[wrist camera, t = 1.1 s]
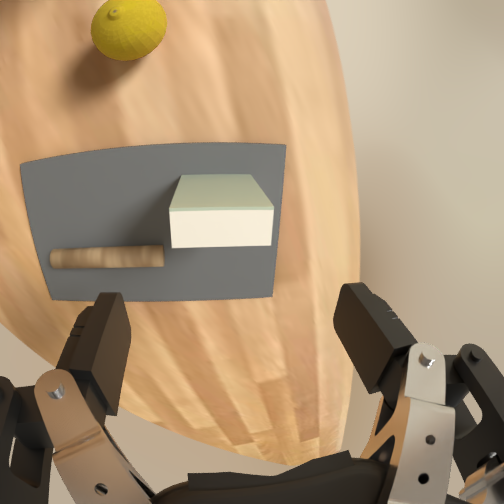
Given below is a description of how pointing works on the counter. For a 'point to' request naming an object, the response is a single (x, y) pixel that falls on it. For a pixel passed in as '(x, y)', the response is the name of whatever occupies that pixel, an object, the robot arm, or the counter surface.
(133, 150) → the mat
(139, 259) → the dowel
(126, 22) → the lemon
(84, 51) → the counter surface
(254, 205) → the tile
